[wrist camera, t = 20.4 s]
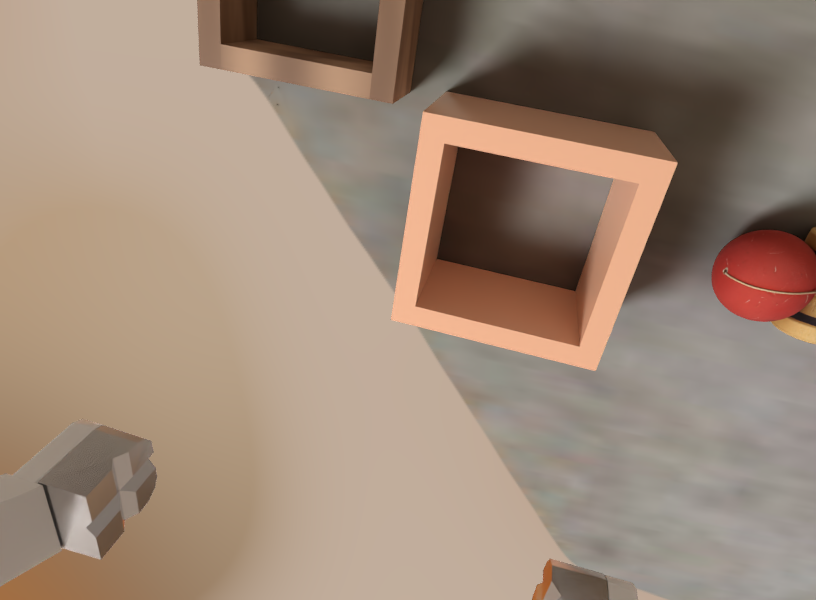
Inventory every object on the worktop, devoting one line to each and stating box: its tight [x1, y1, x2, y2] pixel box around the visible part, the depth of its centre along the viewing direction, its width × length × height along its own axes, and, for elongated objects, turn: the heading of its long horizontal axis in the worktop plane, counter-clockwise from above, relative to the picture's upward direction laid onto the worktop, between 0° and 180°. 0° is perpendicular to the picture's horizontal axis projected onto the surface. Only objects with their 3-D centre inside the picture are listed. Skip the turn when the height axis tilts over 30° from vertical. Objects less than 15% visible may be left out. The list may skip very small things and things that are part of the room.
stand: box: [391, 91, 678, 371], centre depth 37 cm, size 14×14×8 cm
